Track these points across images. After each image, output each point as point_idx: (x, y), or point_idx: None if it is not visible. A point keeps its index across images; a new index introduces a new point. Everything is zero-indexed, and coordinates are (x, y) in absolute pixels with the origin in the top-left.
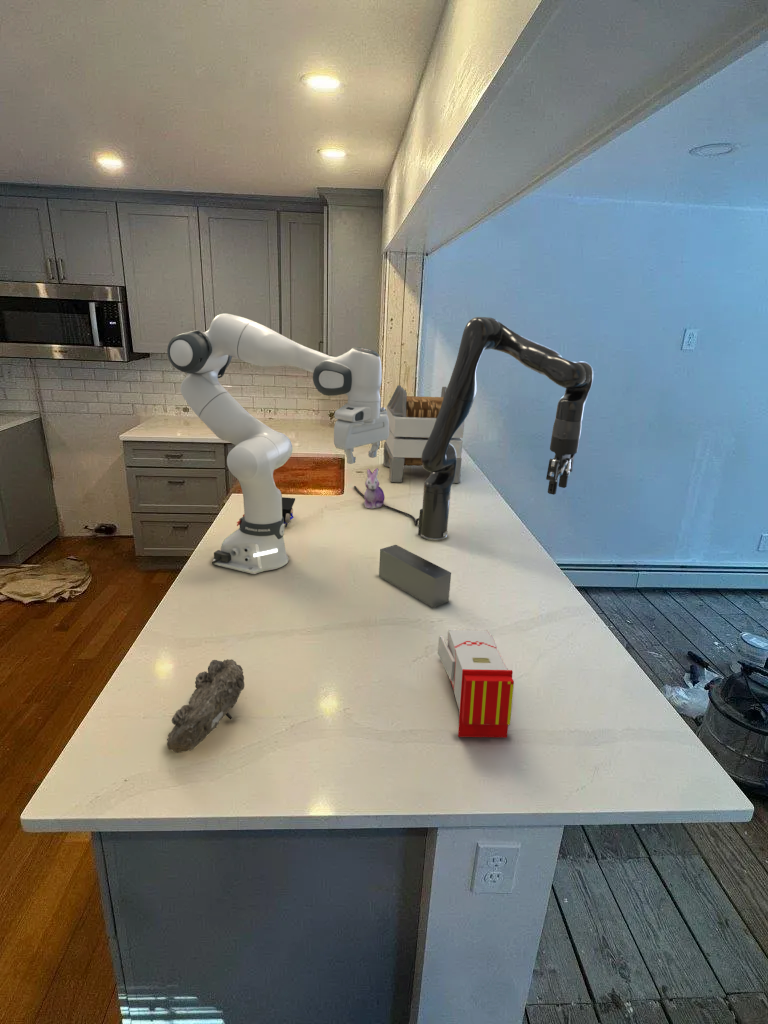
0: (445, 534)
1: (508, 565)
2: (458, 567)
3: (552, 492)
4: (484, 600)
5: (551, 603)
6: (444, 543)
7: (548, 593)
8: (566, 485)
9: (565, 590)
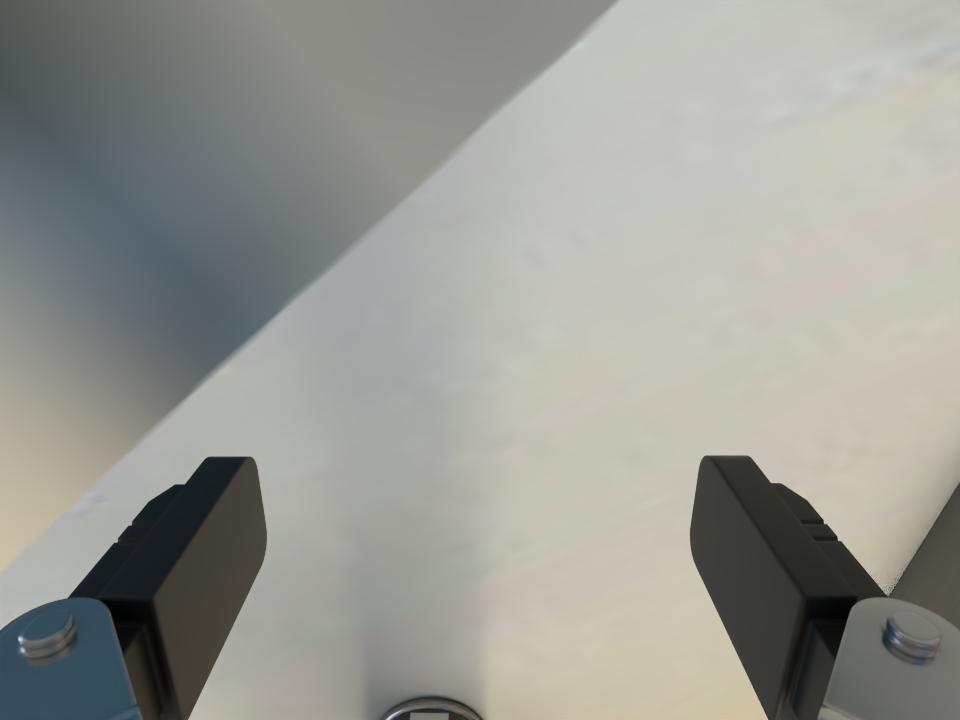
0: (429, 717)
1: (487, 404)
2: (654, 546)
3: (786, 497)
4: (904, 334)
5: (771, 68)
6: (466, 681)
7: (668, 126)
8: (207, 469)
9: (577, 63)
